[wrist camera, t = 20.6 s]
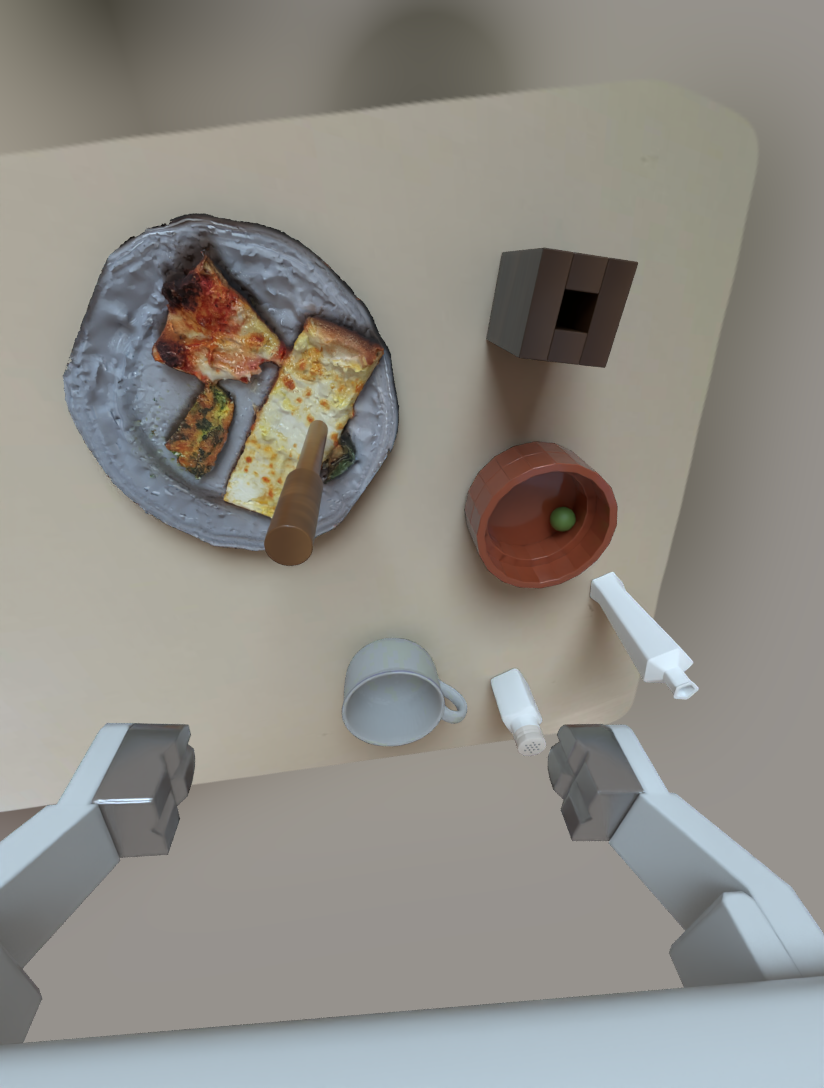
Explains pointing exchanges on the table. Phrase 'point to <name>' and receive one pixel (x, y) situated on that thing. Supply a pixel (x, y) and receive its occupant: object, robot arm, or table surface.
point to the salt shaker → (519, 711)
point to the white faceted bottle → (643, 638)
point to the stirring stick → (299, 503)
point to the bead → (562, 519)
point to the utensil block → (559, 305)
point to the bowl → (539, 515)
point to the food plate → (228, 377)
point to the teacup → (396, 694)
